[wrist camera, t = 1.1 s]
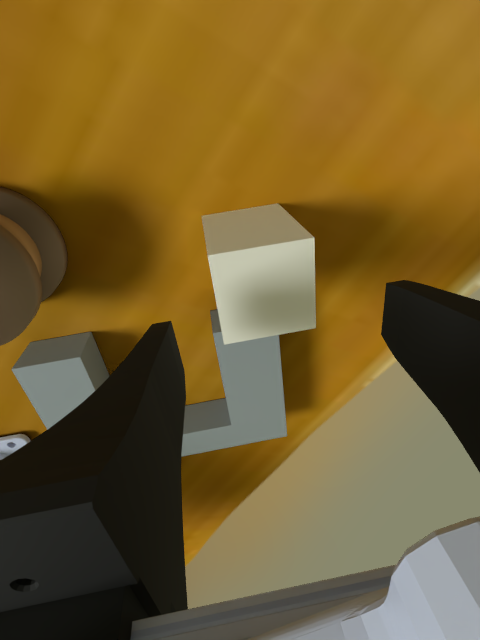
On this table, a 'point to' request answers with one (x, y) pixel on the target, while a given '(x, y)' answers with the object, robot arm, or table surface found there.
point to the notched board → (199, 420)
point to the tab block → (261, 272)
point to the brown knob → (26, 261)
